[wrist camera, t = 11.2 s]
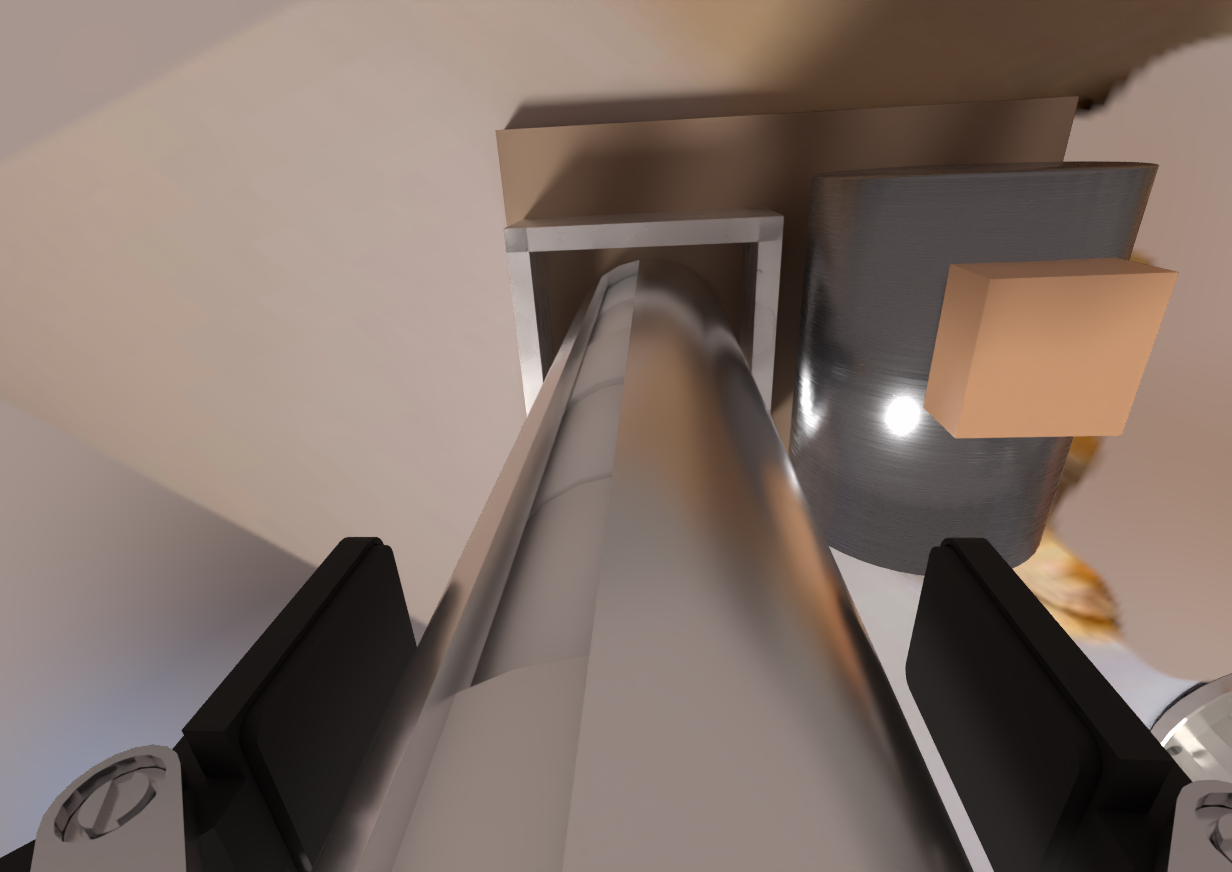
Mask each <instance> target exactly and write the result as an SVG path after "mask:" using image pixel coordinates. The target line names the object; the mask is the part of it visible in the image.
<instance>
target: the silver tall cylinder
mask: <svg viewBox="0 0 1232 872" xmlns="http://www.w3.org/2000/svg"><path fill="white" fill-rule="evenodd" d="M311 872H974V871H973V869H972V867H971V865H970V862H969V860H968V858H967V856H966V854H965V851H964V849H963V847H962V845H961V842H960V840H959V838H958V836H957V833H956V831H955V829H954V827H953V824H952V822H951V820H950V818H949V815H948V813H947V811H946V809H945V806H944V804H943V802H942V800H941V797H940V795H939V793H938V791H937V788H936V786H935V784H934V782H933V779H932V777H931V775H930V773H929V770H928V768H927V766H926V764H925V761H924V759H923V757H922V755H921V752H920V750H919V748H918V746H917V744H916V741H915V739H914V737H913V735H912V732H911V730H910V728H909V726H908V723H907V721H906V719H905V717H904V714H903V712H902V710H901V708H900V705H899V703H898V701H897V699H896V696H895V694H894V692H893V690H892V687H891V685H890V683H889V681H888V678H887V676H886V674H885V672H884V669H883V667H882V665H881V663H880V660H879V658H878V656H877V654H876V651H875V649H874V647H873V645H872V642H871V640H870V638H869V636H868V634H867V631H866V629H865V627H864V625H863V622H862V620H861V618H860V616H859V613H858V611H857V609H856V607H855V604H854V602H853V600H852V598H851V595H850V593H849V591H848V589H847V586H846V584H845V582H844V580H843V577H842V575H841V573H840V571H839V568H838V566H837V564H836V562H835V559H834V557H833V555H832V553H831V550H830V548H829V546H828V544H827V541H826V539H825V537H824V535H823V532H822V530H821V528H820V526H819V523H818V521H817V519H816V517H815V515H814V512H813V510H812V508H811V506H810V503H809V501H808V499H807V497H806V494H805V492H804V490H803V488H802V485H801V483H800V481H799V479H798V476H797V474H796V472H795V470H794V467H793V465H792V463H791V461H790V458H789V456H788V454H787V452H786V449H785V447H784V445H783V443H782V440H781V438H780V436H779V434H778V431H777V429H776V427H775V425H774V422H773V420H772V418H771V416H770V413H769V411H768V409H767V407H766V405H765V402H764V400H763V398H762V396H761V393H760V391H759V389H758V387H757V384H756V382H755V380H754V378H753V375H752V373H751V371H750V369H749V366H748V364H747V362H746V360H745V357H744V355H743V353H742V351H741V348H740V346H739V344H738V342H737V339H736V337H735V335H734V333H733V330H732V328H731V326H730V324H729V321H728V319H727V317H726V315H725V312H724V310H723V308H722V306H721V304H720V302H719V300H718V298H717V297H716V295H715V293H714V291H713V289H712V288H711V287H710V286H709V285H708V284H707V283H706V282H705V281H704V280H703V279H702V278H701V277H700V276H699V274H697V273H695V272H693V271H692V270H690V269H688V268H687V267H685V266H683V265H681V264H679V263H675V262H671V261H667V260H663V259H638V260H635V261H631V262H628V263H624V264H621V265H619V266H617V267H615V268H614V269H612V270H610V271H609V272H607V273H605V274H604V275H602V276H601V277H600V278H599V279H598V280H597V281H596V283H595V284H594V285H593V286H592V287H591V288H590V289H589V290H588V292H587V294H586V295H585V297H584V299H583V301H582V303H581V305H580V307H579V309H578V311H577V313H576V315H575V317H574V319H573V321H572V324H571V326H570V328H569V330H568V332H567V334H566V336H565V338H564V340H563V342H562V345H561V347H560V349H559V351H558V353H557V355H556V357H555V359H554V361H553V363H552V366H551V368H550V370H549V372H548V374H547V376H546V378H545V380H544V382H543V384H542V387H541V389H540V391H539V393H538V395H537V397H536V399H535V401H534V403H533V405H532V408H531V410H530V412H529V414H528V416H527V418H526V420H525V422H524V424H523V426H522V429H521V431H520V433H519V435H518V437H517V439H516V441H515V443H514V445H513V447H512V450H511V452H510V454H509V456H508V458H507V460H506V462H505V464H504V466H503V468H502V471H501V473H500V475H499V477H498V479H497V481H496V483H495V485H494V487H493V489H492V492H491V494H490V496H489V498H488V500H487V502H486V504H485V506H484V508H483V510H482V513H481V515H480V517H479V519H478V521H477V523H476V525H475V527H474V529H473V532H472V534H471V536H470V538H469V540H468V542H467V544H466V546H465V548H464V550H463V553H462V555H461V557H460V559H459V561H458V563H457V565H456V567H455V569H454V571H453V574H452V576H451V578H450V580H449V582H448V584H447V586H446V588H445V590H444V592H443V595H442V597H441V599H440V601H439V603H438V605H437V607H436V609H435V611H434V613H433V616H432V618H431V620H430V622H429V624H428V626H427V628H426V630H425V632H424V635H423V637H422V639H421V641H420V643H419V645H418V647H417V649H416V651H415V653H414V655H413V658H412V660H411V662H410V664H409V666H408V668H407V670H406V672H405V674H404V676H403V679H402V681H401V683H400V685H399V687H398V689H397V691H396V693H395V695H394V697H393V700H392V702H391V704H390V706H389V708H388V710H387V712H386V714H385V716H384V718H383V721H382V723H381V725H380V727H379V729H378V731H377V733H376V735H375V737H374V739H373V742H372V744H371V746H370V748H369V750H368V752H367V754H366V756H365V758H364V760H363V763H362V765H361V767H360V769H359V771H358V773H357V775H356V777H355V779H354V781H353V784H352V786H351V788H350V790H349V792H348V794H347V796H346V798H345V800H344V802H343V805H342V807H341V809H340V811H339V813H338V815H337V817H336V819H335V821H334V823H333V826H332V828H331V830H330V832H329V834H328V836H327V838H326V840H325V842H324V844H323V847H322V849H321V851H320V853H319V855H318V857H317V859H316V861H315V863H314V865H313V868H312V870H311Z"/></svg>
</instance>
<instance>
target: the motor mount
mask: <svg viewBox="0 0 1232 872" xmlns="http://www.w3.org/2000/svg"><path fill="white" fill-rule="evenodd" d="M1078 99H1079V96H1071V97H1054V98H1037V99H1020V100H1003V101H986V102H969V103H952V104H935V105H917V106H900V107H883V108H866V109H849V110H832V111H815V112H798V113H781V114H764V115H747V116H730V117H712V118H695V119H678V120H661V121H644V122H627V123H610V124H593V125H576V126H559V127H542V128H525V129H507V130H496V138H497V146H498V154H499V162H500V171H501V179H502V187H503V195H504V203H505V212H506V220H507V227H506V228H505V229H504V236H505V244H506V252H507V260H508V268H509V276H510V284H511V292H512V300H513V308H514V316H515V324H516V332H517V340H518V348H519V356H520V364H521V372H522V380H523V388H524V396H525V404H526V412H527V416H528V414H529V412H530V410H531V408H532V405H533V403H534V401H535V399H536V397H537V395H538V393H539V391H540V389H541V387H542V384H543V382H544V380H545V378H546V376H547V374H548V372H549V370H550V368H551V366H552V363H553V361H554V359H555V357H556V355H557V353H558V351H559V349H560V347H561V345H562V342H563V340H564V338H565V336H566V334H567V332H568V330H569V328H570V326H571V324H572V321H573V319H574V317H575V315H576V313H577V311H578V309H579V307H580V305H581V303H582V301H583V299H584V297H585V295H586V294H587V292H588V290H589V289H590V288H591V287H592V286H593V285H594V284H595V283H596V281H597V280H598V279H599V278H600V277H601V276H602V275H604V274H605V273H607V272H609V271H610V270H612V269H614V268H615V267H617V266H619V265H621V264H624V263H628V262H631V261H635V260H638V259H663V260H667V261H671V262H675V263H679V264H681V265H683V266H685V267H687V268H688V269H690V270H692V271H693V272H695V273H697V274H699V276H700V277H701V278H702V279H703V280H704V281H705V282H706V283H707V284H708V285H709V286H710V287H711V288H712V289H713V291H714V293H715V295H716V297H717V298H718V300H719V302H720V304H721V306H722V308H723V310H724V312H725V315H726V317H727V319H728V321H729V324H730V326H731V328H732V330H733V333H734V335H735V337H736V339H737V342H738V344H739V346H740V348H741V351H742V353H743V355H744V357H745V360H746V362H747V364H748V366H749V369H750V371H751V373H752V375H753V378H754V380H755V382H756V384H757V387H758V389H759V391H760V393H761V396H762V398H763V400H764V402H765V405H766V407H767V409H768V411H769V413H770V416H771V418H772V420H773V422H774V425H775V427H776V429H777V431H778V434H779V436H780V438H781V440H782V443H783V445H784V447H785V449H786V452H787V454H788V456H789V458H790V461H791V463H792V465H793V467H794V470H795V472H796V474H797V476H798V479H799V481H800V483H801V485H802V488H803V490H804V492H805V494H806V497H807V499H808V501H809V503H810V506H811V508H812V510H813V512H814V515H815V517H816V519H817V521H818V523H819V526H820V528H821V530H822V532H823V535H824V537H825V539H826V541H827V544H828V545H829V546H830V547H832V548H834V549H836V550H838V551H840V552H842V553H844V554H847V555H849V556H851V557H854V558H856V559H859V560H861V561H864V562H867V563H870V564H873V565H876V566H879V567H883V568H887V569H891V570H895V571H899V572H905V573H910V574H916V575H924V576H925V572H926V567H927V562H928V558H929V553H930V550H931V549H932V548H933V547H935V546H940V545H941V542H942V541H943V540H944V539H945V538H985V539H986V540H987V541H989V542H990V543H991V545H992V546H993V547H994V548H995V549H996V550H997V552H998V553H999V554H1000V555H1001V556H1002V558H1003V559H1004V560H1005V561H1006V562H1007V563H1008V565H1009V566H1010V567H1011V568H1014V567H1016V566H1019V565H1020V564H1022V563H1023V562H1025V561H1027V560H1028V559H1029V558H1030V557H1031V556H1032V555H1033V554H1034V553H1035V552H1036V550H1037V548H1038V546H1039V545H1040V541H1041V538H1042V535H1043V532H1044V529H1045V526H1046V522H1047V519H1048V516H1049V513H1050V510H1051V506H1052V503H1053V500H1054V497H1055V494H1056V491H1057V487H1058V484H1059V481H1060V478H1061V475H1062V472H1063V468H1064V465H1065V462H1066V459H1067V456H1068V453H1069V449H1070V446H1071V443H1072V440H1073V437H1074V436H1113V435H1122V432H1123V429H1124V426H1125V424H1126V421H1127V418H1128V415H1129V413H1130V410H1131V407H1132V404H1133V401H1134V399H1135V396H1136V393H1137V390H1138V387H1139V384H1140V382H1141V379H1142V376H1143V373H1144V370H1145V367H1146V365H1147V362H1148V359H1149V356H1150V353H1151V350H1152V347H1153V345H1154V342H1155V339H1156V336H1157V333H1158V331H1159V328H1160V325H1161V322H1162V319H1163V316H1164V314H1165V311H1166V308H1167V305H1168V302H1169V299H1170V297H1171V294H1172V291H1173V288H1174V285H1175V282H1176V280H1177V277H1178V274H1179V272H1176V271H1172V270H1167V269H1163V268H1159V267H1154V266H1150V265H1146V264H1141V263H1137V262H1133V261H1129V259H1130V256H1131V252H1132V249H1133V246H1134V243H1135V240H1136V236H1137V233H1138V230H1139V227H1140V224H1141V220H1142V217H1143V214H1144V211H1145V208H1146V205H1147V202H1148V198H1149V195H1150V192H1151V189H1152V186H1153V183H1154V179H1155V176H1156V173H1157V170H1158V167H1159V165H1158V164H1151V163H1139V162H1063V159H1064V155H1065V151H1066V147H1067V143H1068V139H1069V135H1070V131H1071V127H1072V123H1073V119H1074V115H1075V111H1076V107H1077V103H1078Z"/></svg>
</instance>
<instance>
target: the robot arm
mask: <svg viewBox="0 0 1232 872" xmlns="http://www.w3.org/2000/svg"><path fill="white" fill-rule="evenodd" d="M416 649H417V646H416V642H415V638H414V634H413V630H412V626H411V622H410V618H409V614H408V610H407V606H406V602H405V598H404V594H403V590H402V586H401V582H400V578H399V574H398V570H397V566H396V562H395V558H394V555H393V551H392V549H391V547H390V546H388V545H384V544H383V542H382V540H381V539H380V538H377V537H347V538H344V539H343V540H341V541H340V542H339V544H338V545H337V546H336V547H335V548H334V550H333V551H332V552H331V553H330V554H329V556H328V557H327V558H326V559H325V560H324V561H323V563H322V564H321V565H320V566H319V567H318V569H317V570H316V571H315V572H314V574H313V575H312V576H311V577H310V578H309V579H308V581H307V582H306V583H305V584H304V585H303V587H302V588H301V589H300V590H299V591H298V592H297V594H296V595H295V596H294V597H293V598H292V600H291V601H290V602H289V603H288V604H287V606H286V607H285V608H284V609H283V610H282V611H281V613H280V614H279V615H278V616H277V618H276V619H275V620H274V621H273V622H272V623H271V625H270V626H269V627H268V628H267V629H266V631H265V632H264V633H263V634H262V635H261V636H260V638H259V639H258V640H257V641H256V642H255V644H254V645H253V646H252V647H251V648H250V650H249V651H248V652H247V653H246V654H245V656H244V657H243V658H242V659H241V660H240V661H239V663H238V664H237V665H236V666H235V667H234V669H233V670H232V671H231V672H230V673H229V675H228V676H227V677H226V678H225V679H224V680H223V682H222V683H221V684H220V685H219V686H218V688H217V689H216V690H215V691H214V692H213V694H212V695H211V696H210V697H209V698H208V700H207V701H206V702H205V703H204V704H203V705H202V707H201V708H200V709H199V710H198V711H197V713H196V714H195V715H194V716H193V717H192V719H191V720H190V721H189V722H188V723H187V724H186V726H185V727H184V728H183V729H182V732H183V734H184V736H183V737H182V738H181V740H180V741H179V742H178V743H177V744H176V746H175V747H174V748H173V749H170V748H169V747H167V746H159V745H148V746H142V747H135V748H132V749H130V750H127V751H124V752H121V753H119V754H116V755H114V756H112V757H110V758H108V759H106V760H105V761H103V762H101V763H99V764H97V765H95V766H93V767H92V768H91V769H89V770H88V771H87V772H85V773H84V774H83V775H81V776H80V777H78V778H77V779H76V780H74V781H73V782H72V783H71V784H70V785H69V786H68V787H67V788H66V789H65V790H64V791H63V792H62V793H61V794H60V795H59V796H58V797H57V798H56V799H55V800H54V802H53V803H52V804H51V806H50V807H49V808H48V810H47V811H46V813H45V814H44V816H43V818H42V821H41V823H40V826H39V828H38V832H37V836H36V839H35V840H33V841H31V842H30V843H28V844H26V845H24V846H22V847H20V848H18V849H16V850H14V851H13V852H11V853H9V854H7V855H5V856H3V857H1V858H0V872H311V870H312V868H313V865H314V863H315V861H316V859H317V857H318V855H319V853H320V851H321V849H322V847H323V844H324V842H325V840H326V838H327V836H328V834H329V832H330V830H331V828H332V826H333V823H334V821H335V819H336V817H337V815H338V813H339V811H340V809H341V807H342V805H343V802H344V800H345V798H346V796H347V794H348V792H349V790H350V788H351V786H352V784H353V781H354V779H355V777H356V775H357V773H358V771H359V769H360V767H361V765H362V763H363V760H364V758H365V756H366V754H367V752H368V750H369V748H370V746H371V744H372V742H373V739H374V737H375V735H376V733H377V731H378V729H379V727H380V725H381V723H382V721H383V718H384V716H385V714H386V712H387V710H388V708H389V706H390V704H391V702H392V700H393V697H394V695H395V693H396V691H397V689H398V687H399V685H400V683H401V681H402V679H403V676H404V674H405V672H406V670H407V668H408V666H409V664H410V662H411V660H412V658H413V655H414V653H415V651H416ZM905 669H906V679H907V683H908V686H909V689H910V691H911V694H912V696H913V698H914V700H915V702H916V704H917V706H918V709H919V711H920V713H921V715H922V717H923V719H924V722H925V724H926V726H927V728H928V730H929V732H930V734H931V737H932V739H933V741H934V743H935V745H936V747H937V750H938V752H939V754H940V756H941V758H942V760H943V762H944V765H945V767H946V769H947V771H948V773H949V775H950V778H951V780H952V782H953V784H954V786H955V788H956V790H957V793H958V795H959V797H960V799H961V801H962V803H963V806H964V808H965V810H966V812H967V814H968V816H969V818H970V821H971V823H972V825H973V827H974V829H975V831H976V834H977V836H978V838H979V840H980V842H981V844H982V846H983V849H984V851H985V853H986V855H987V857H988V859H989V862H990V864H991V866H992V868H993V870H994V872H1232V674H1229V675H1226V676H1223V677H1221V678H1219V679H1217V680H1214V681H1212V682H1210V683H1208V684H1206V685H1204V686H1202V687H1200V688H1198V689H1197V690H1195V691H1193V692H1192V693H1190V694H1189V695H1187V696H1185V697H1184V698H1182V699H1181V700H1180V701H1178V702H1177V703H1176V704H1175V705H1174V706H1172V707H1171V708H1170V709H1169V710H1168V711H1166V712H1165V714H1164V715H1163V716H1162V717H1161V718H1160V719H1159V720H1158V722H1157V723H1156V724H1155V725H1154V727H1153V728H1152V730H1151V732H1150V731H1149V729H1148V728H1147V727H1146V726H1145V725H1144V723H1143V722H1142V721H1141V720H1140V719H1139V718H1138V716H1137V715H1136V714H1135V713H1134V712H1133V711H1132V709H1131V708H1130V707H1129V706H1128V705H1127V703H1126V702H1125V701H1124V700H1123V699H1122V698H1121V696H1120V695H1119V694H1118V693H1117V692H1116V691H1115V689H1114V688H1113V687H1112V686H1111V685H1110V683H1109V682H1108V681H1107V680H1106V679H1105V678H1104V676H1103V675H1102V674H1101V673H1100V672H1099V671H1098V669H1097V668H1096V667H1095V666H1094V665H1093V663H1092V662H1091V661H1090V660H1089V659H1088V658H1087V656H1086V655H1085V654H1084V653H1083V652H1082V650H1081V649H1080V648H1079V647H1078V646H1077V645H1076V643H1075V642H1074V641H1073V640H1072V639H1071V638H1070V636H1069V635H1068V634H1067V633H1066V632H1065V630H1064V629H1063V628H1062V627H1061V626H1060V625H1059V623H1058V622H1057V621H1056V620H1055V619H1054V618H1053V616H1052V615H1051V614H1050V613H1049V612H1048V610H1047V609H1046V608H1045V607H1044V606H1043V605H1042V603H1041V602H1040V601H1039V600H1038V599H1037V598H1036V596H1035V595H1034V594H1033V593H1032V592H1031V590H1030V589H1029V588H1028V587H1027V586H1026V585H1025V583H1024V582H1023V581H1022V580H1021V579H1020V578H1019V576H1018V575H1017V574H1016V573H1015V572H1014V570H1013V569H1012V568H1011V567H1010V566H1009V565H1008V563H1007V562H1006V561H1005V560H1004V559H1003V558H1002V556H1001V555H1000V554H999V553H998V552H997V550H996V549H995V548H994V547H993V546H992V545H991V543H990V542H989V541H987V540H986V539H985V538H945V539H944V540H943V541H942V542H941V545H940V546H935V547H933V548H932V549H931V550H930V553H929V558H928V562H927V567H926V572H925V577H924V581H923V586H922V591H921V595H920V600H919V605H918V609H917V614H916V619H915V624H914V628H913V633H912V638H911V642H910V647H909V652H908V656H907V661H906V668H905Z"/></svg>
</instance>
